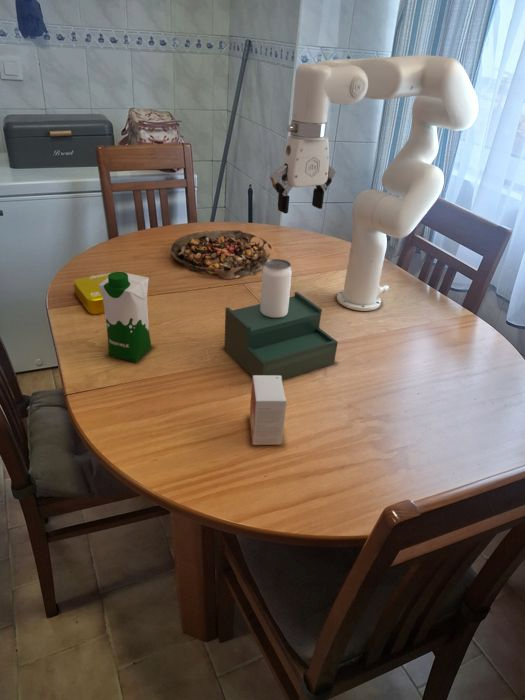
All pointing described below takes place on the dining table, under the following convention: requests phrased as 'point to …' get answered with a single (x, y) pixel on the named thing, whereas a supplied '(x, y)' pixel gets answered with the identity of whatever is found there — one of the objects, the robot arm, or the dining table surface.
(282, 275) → the can
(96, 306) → the yellow tin box
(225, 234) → the food dish
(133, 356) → the milk carton
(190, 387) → the dining table surface
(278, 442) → the small box
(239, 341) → the step rack
